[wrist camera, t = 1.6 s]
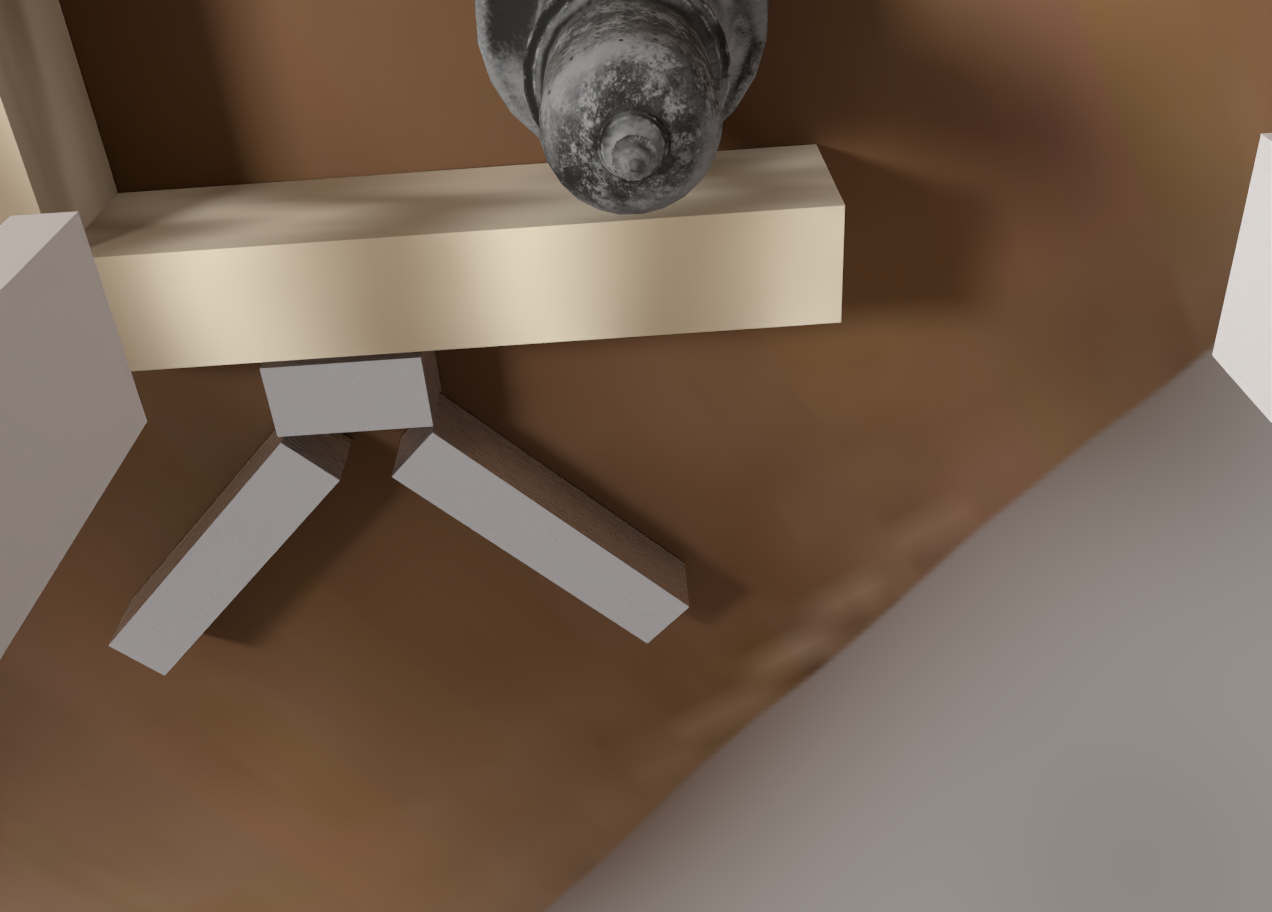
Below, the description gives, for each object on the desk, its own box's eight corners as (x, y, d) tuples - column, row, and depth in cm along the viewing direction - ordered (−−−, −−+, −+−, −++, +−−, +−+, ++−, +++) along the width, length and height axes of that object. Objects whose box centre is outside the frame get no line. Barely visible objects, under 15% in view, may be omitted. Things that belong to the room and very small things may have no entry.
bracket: (33, 305, 31) (-35, 382, 28) (-198, -325, 24) (-328, -324, 20) (814, 251, 31) (841, 322, 28) (827, -402, 24) (866, -413, 20)
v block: (36, 348, 32) (5, 386, 30) (672, 304, 32) (676, 339, 30) (142, 632, 37) (121, 678, 35) (686, 596, 37) (691, 640, 35)
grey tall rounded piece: (785, 53, 28) (892, 266, 18) (556, 152, 29) (536, 403, 19) (693, -212, 25) (760, -133, 15) (441, -91, 26) (346, 58, 16)
